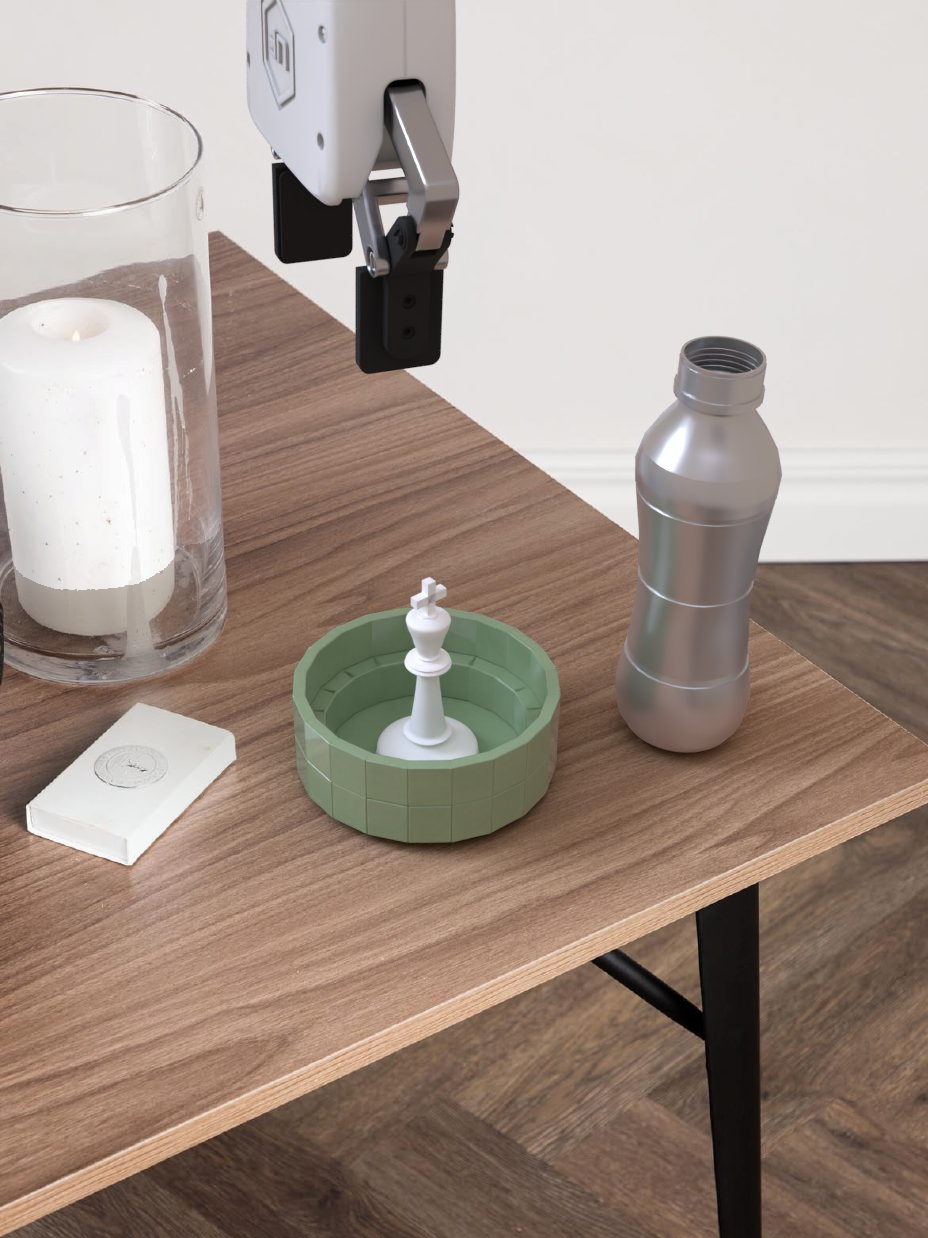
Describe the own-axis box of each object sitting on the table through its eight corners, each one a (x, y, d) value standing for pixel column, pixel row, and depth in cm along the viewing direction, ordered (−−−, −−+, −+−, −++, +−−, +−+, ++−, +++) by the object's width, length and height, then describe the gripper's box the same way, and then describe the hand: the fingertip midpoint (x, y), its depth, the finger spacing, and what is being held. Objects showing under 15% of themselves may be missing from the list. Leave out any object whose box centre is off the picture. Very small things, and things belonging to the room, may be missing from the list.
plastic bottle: (689, 788, 81) (742, 409, 68) (582, 725, 85) (613, 351, 71) (770, 729, 85) (834, 358, 72) (664, 670, 88) (707, 306, 75)
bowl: (260, 823, 78) (253, 738, 75) (345, 670, 87) (343, 588, 84) (518, 876, 76) (523, 791, 73) (578, 714, 85) (585, 632, 82)
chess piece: (354, 751, 81) (349, 575, 75) (434, 711, 84) (435, 537, 77) (420, 804, 79) (421, 626, 72) (500, 761, 81) (508, 585, 75)
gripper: (171, -237, 60) (199, 231, 72) (332, -104, 49) (335, 429, 60) (371, -240, 63) (368, 212, 74) (569, -114, 51) (530, 399, 63)
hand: (353, 309), depth 67 cm, fingers open, 9 cm apart
